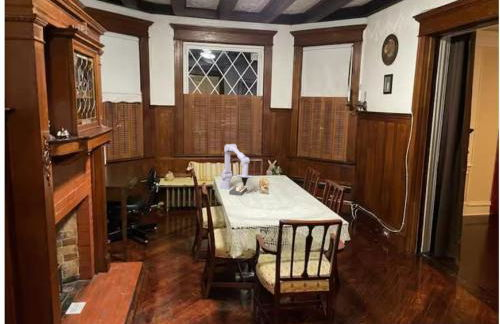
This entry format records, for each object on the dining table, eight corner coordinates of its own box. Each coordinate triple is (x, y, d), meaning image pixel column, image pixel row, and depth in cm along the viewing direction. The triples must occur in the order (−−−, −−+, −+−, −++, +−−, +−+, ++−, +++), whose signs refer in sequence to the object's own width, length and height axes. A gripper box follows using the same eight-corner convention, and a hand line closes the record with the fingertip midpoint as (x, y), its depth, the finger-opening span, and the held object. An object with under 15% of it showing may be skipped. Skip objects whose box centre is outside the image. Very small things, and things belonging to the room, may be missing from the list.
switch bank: (229, 194, 335) (229, 191, 334) (235, 189, 355) (235, 186, 354) (241, 195, 332) (241, 192, 332) (246, 190, 352) (247, 187, 352)
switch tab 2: (238, 189, 341) (238, 186, 341) (238, 188, 344) (238, 185, 344) (241, 189, 341) (241, 186, 340) (242, 188, 344) (242, 185, 343)
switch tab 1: (235, 190, 335) (235, 187, 334) (236, 190, 338) (236, 186, 337) (239, 191, 334) (239, 187, 334) (239, 190, 337) (240, 187, 336)
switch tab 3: (240, 187, 348) (240, 184, 348) (240, 186, 351) (240, 183, 351) (243, 187, 348) (243, 184, 347) (243, 187, 350) (244, 184, 350)
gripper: (235, 171, 329) (235, 186, 331) (251, 172, 326) (251, 187, 328) (238, 169, 336) (237, 184, 338) (253, 170, 333) (253, 185, 335)
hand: (244, 185), depth 334 cm, fingers closed
